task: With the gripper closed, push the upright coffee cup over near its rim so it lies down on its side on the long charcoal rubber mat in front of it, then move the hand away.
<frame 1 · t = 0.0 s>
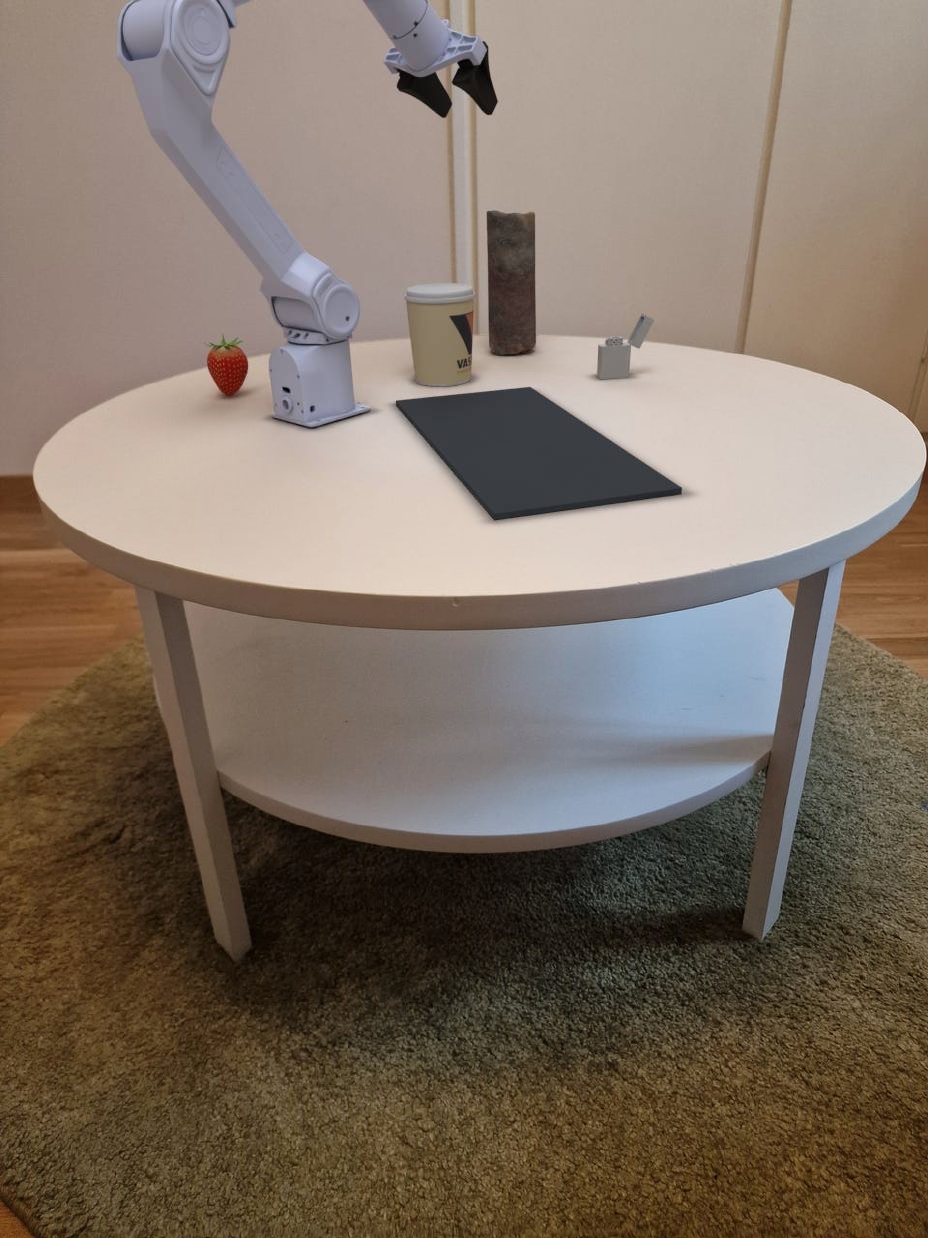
hand: (469, 109, 107), 32 cm above the table, tool tilted 50°, fingers open, 7 cm apart
brown stone cylinder: (512, 352, 133), on the table
coffee cup: (443, 381, 118), on the table
mat: (516, 442, 92), on the table
lighter: (623, 377, 117), on the table
fruit: (232, 397, 114), on the table
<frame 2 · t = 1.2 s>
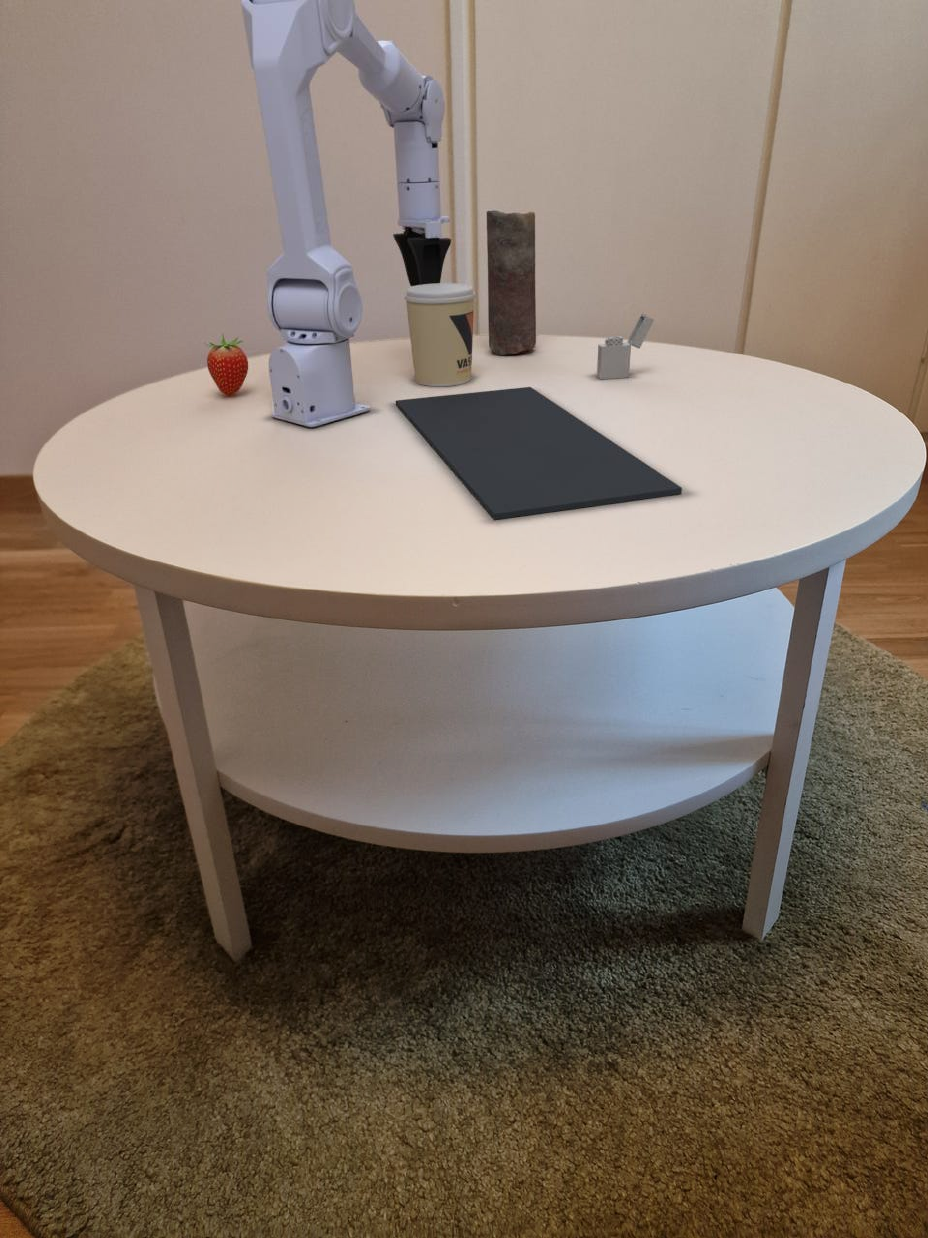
hand: (423, 289, 121), 11 cm above the table, tool pointing down, fingers open, 7 cm apart
nothing on the table moved.
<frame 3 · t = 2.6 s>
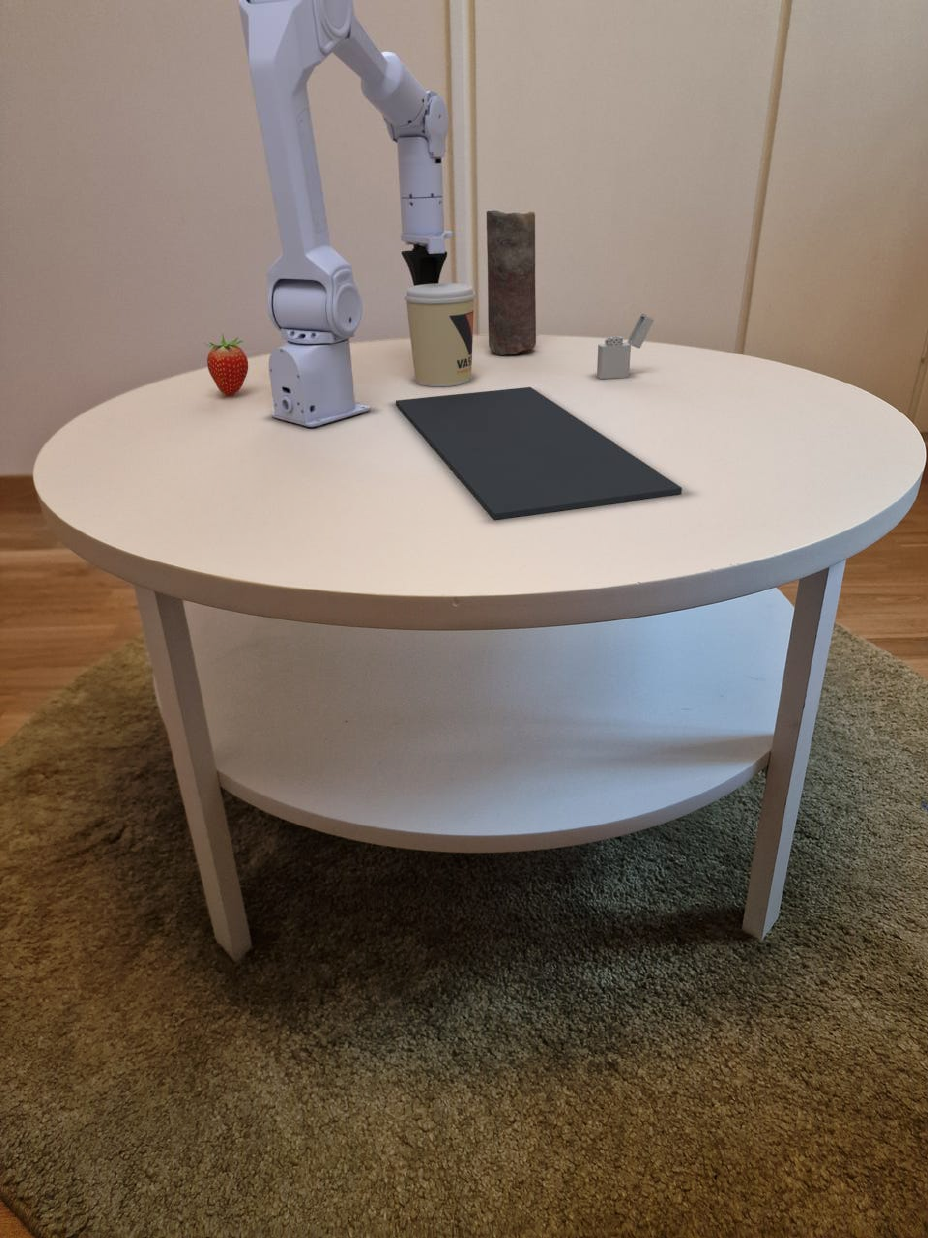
hand: (426, 304, 120), 9 cm above the table, tool pointing down, fingers closed
nothing on the table moved.
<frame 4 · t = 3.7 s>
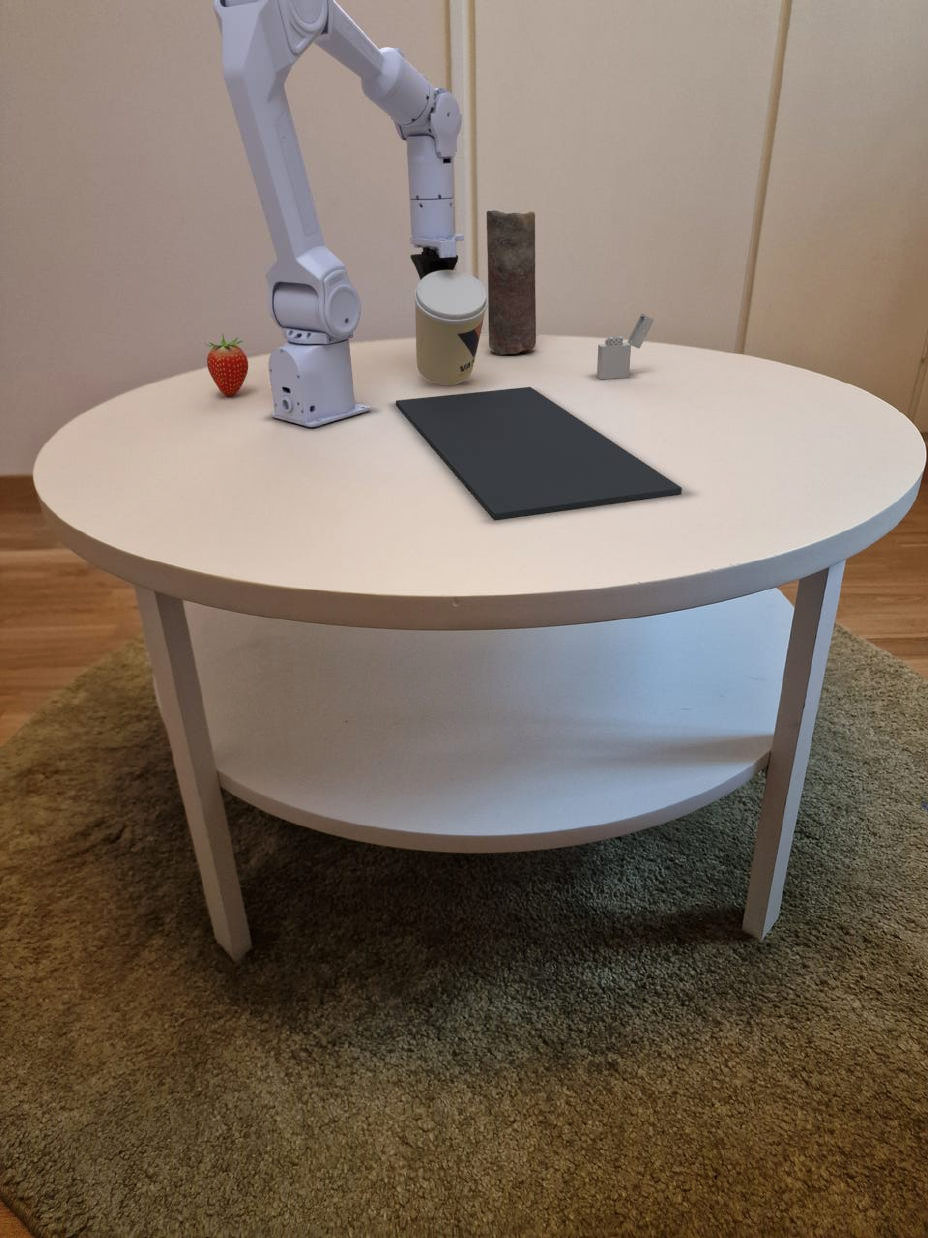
hand: (436, 309, 116), 9 cm above the table, tool pointing down, fingers closed
coffee cup: (444, 367, 117), point 2 cm above the table
everything else where it was.
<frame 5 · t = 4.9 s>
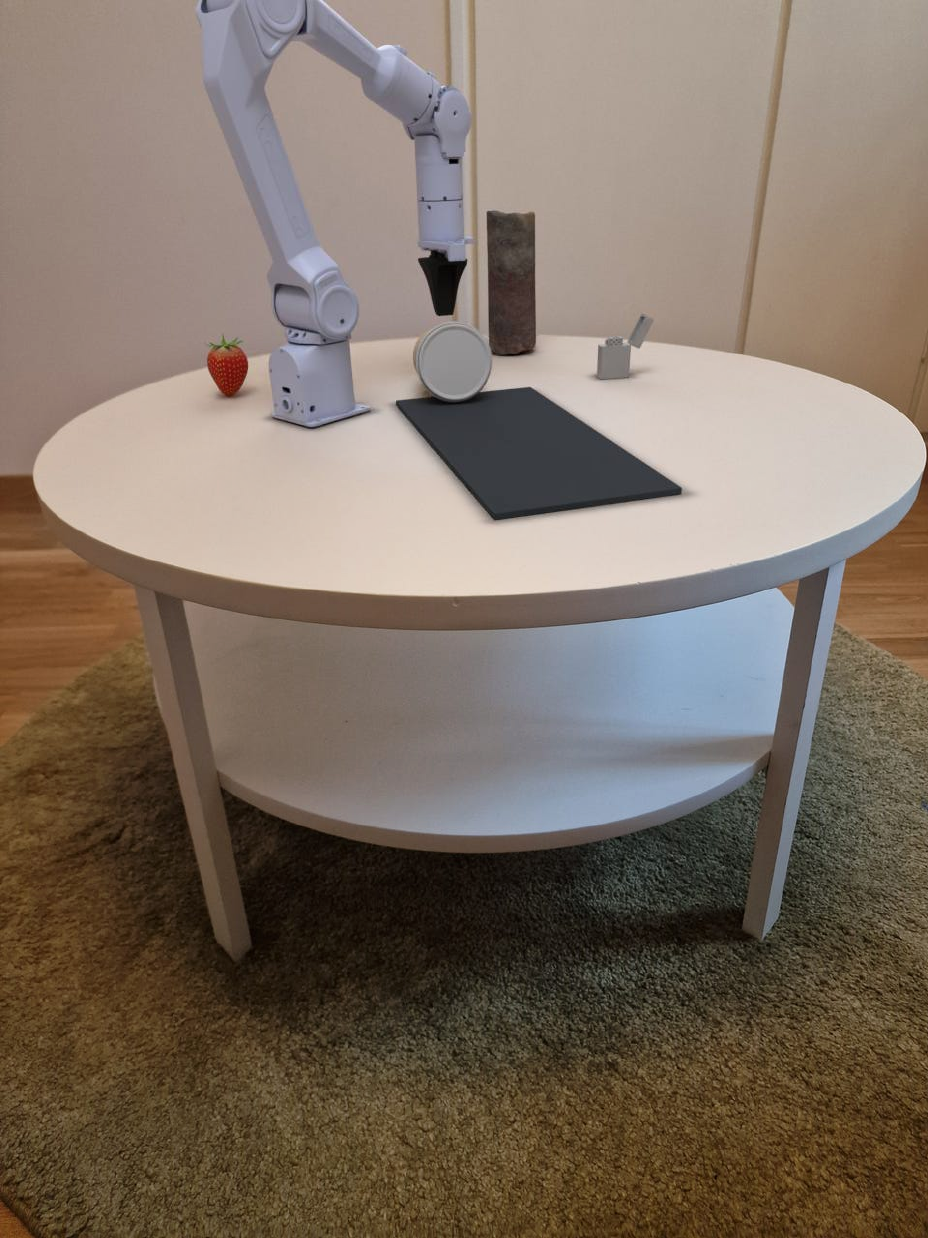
hand: (444, 314, 112), 9 cm above the table, tool pointing down, fingers closed
coffee cup: (441, 356, 113), point 4 cm above the table, touching mat
everything else where it was.
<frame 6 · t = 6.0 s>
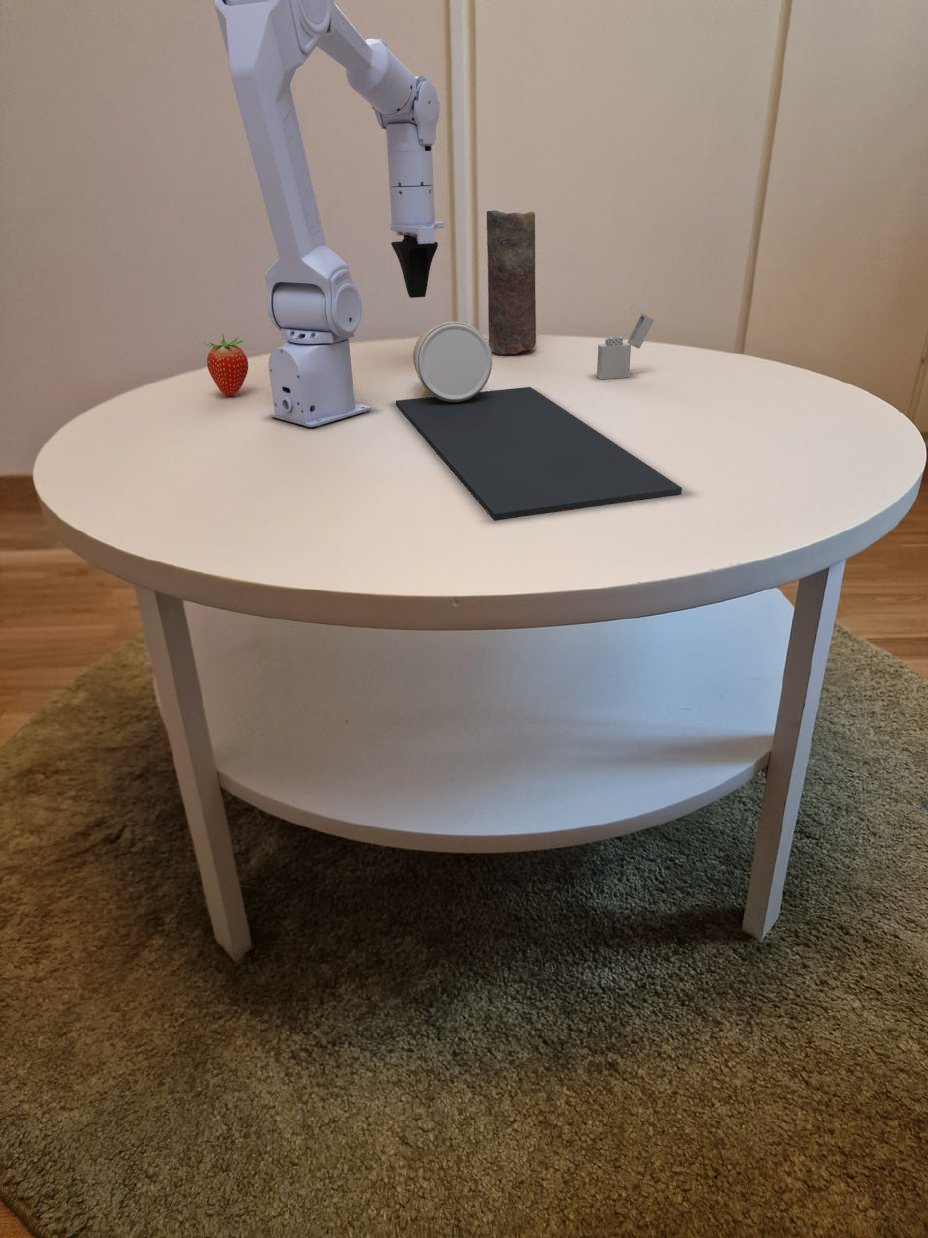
hand: (417, 296, 117), 10 cm above the table, tool pointing down, fingers closed
nothing on the table moved.
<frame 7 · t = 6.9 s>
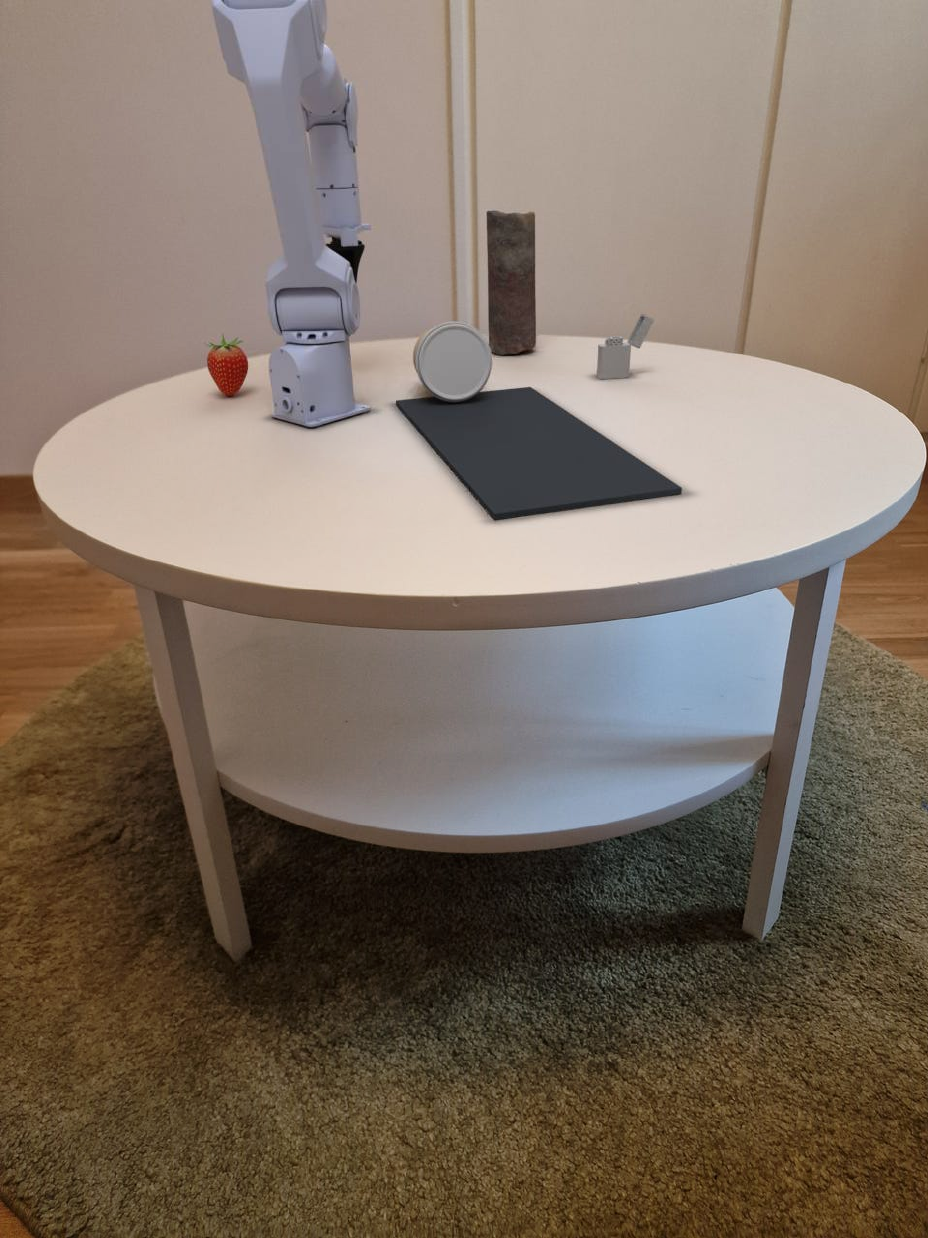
hand: (346, 299, 116), 10 cm above the table, tool pointing down, fingers closed
nothing on the table moved.
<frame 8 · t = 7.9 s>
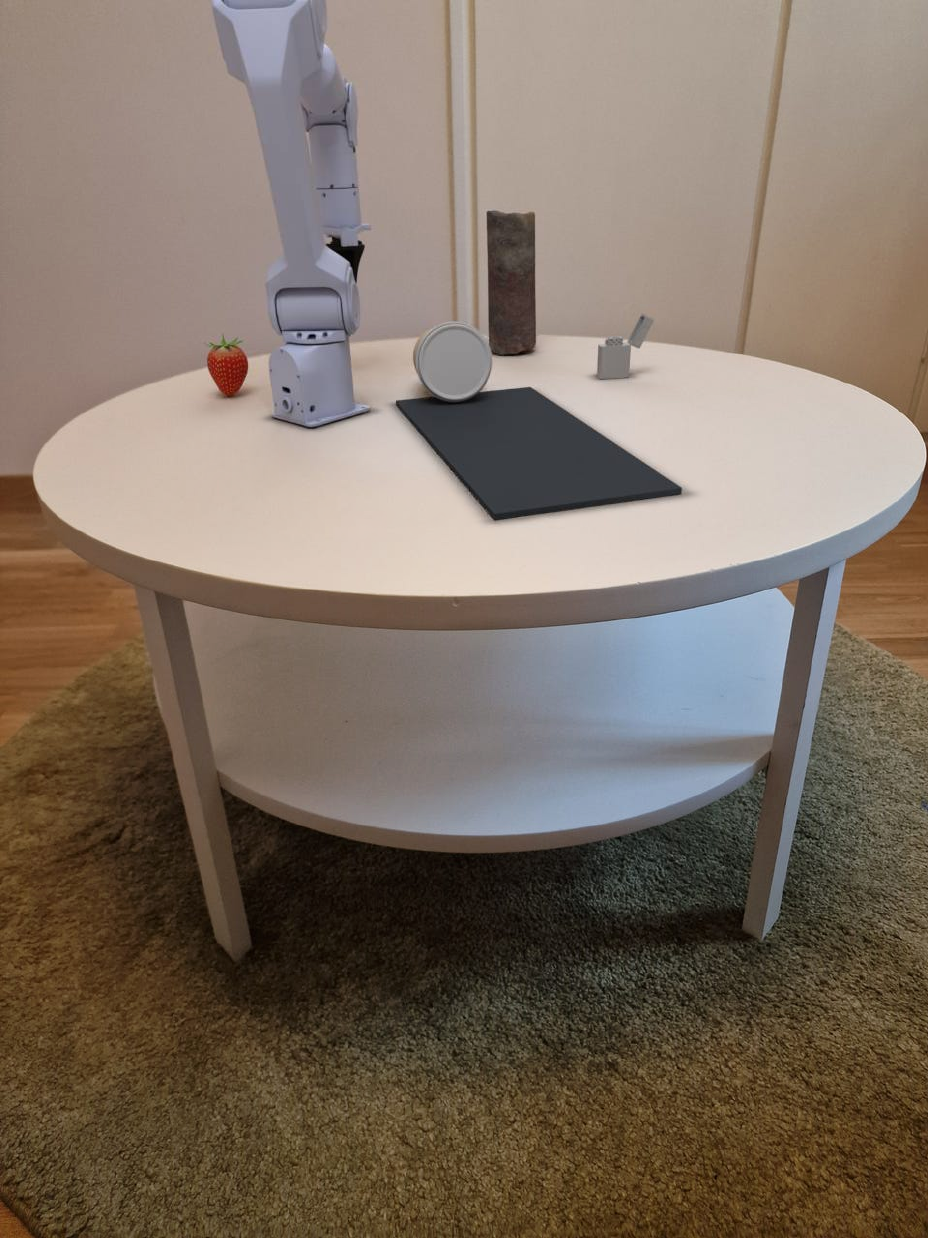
hand: (346, 299, 116), 10 cm above the table, tool pointing down, fingers closed
nothing on the table moved.
at the end: coffee cup tilted 82°; coffee cup touching mat, table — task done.
